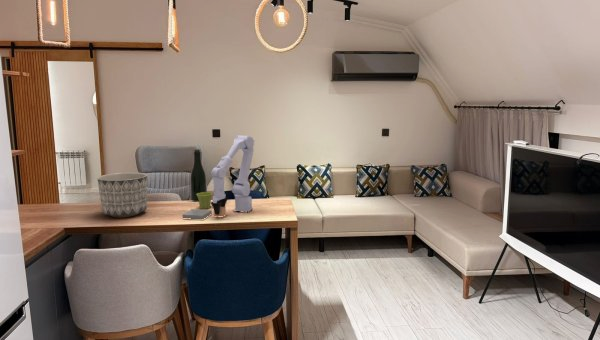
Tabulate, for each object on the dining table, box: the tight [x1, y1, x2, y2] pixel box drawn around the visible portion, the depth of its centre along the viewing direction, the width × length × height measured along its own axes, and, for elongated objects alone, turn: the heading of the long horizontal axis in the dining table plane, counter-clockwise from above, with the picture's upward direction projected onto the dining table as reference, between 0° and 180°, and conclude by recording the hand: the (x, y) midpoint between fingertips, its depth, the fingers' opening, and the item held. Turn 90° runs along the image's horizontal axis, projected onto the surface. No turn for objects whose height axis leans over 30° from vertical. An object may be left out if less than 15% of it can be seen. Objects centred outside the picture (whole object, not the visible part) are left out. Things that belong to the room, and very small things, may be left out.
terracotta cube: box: [213, 206, 227, 217], centre depth 246 cm, size 5×5×5 cm
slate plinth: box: [182, 208, 213, 219], centre depth 245 cm, size 12×12×3 cm
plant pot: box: [196, 191, 213, 210], centre depth 265 cm, size 9×9×9 cm
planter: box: [97, 172, 148, 218], centre depth 249 cm, size 26×26×22 cm
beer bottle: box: [189, 148, 208, 202], centre depth 283 cm, size 10×10×33 cm
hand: (219, 212), depth 246 cm, fingers open, 7 cm apart
